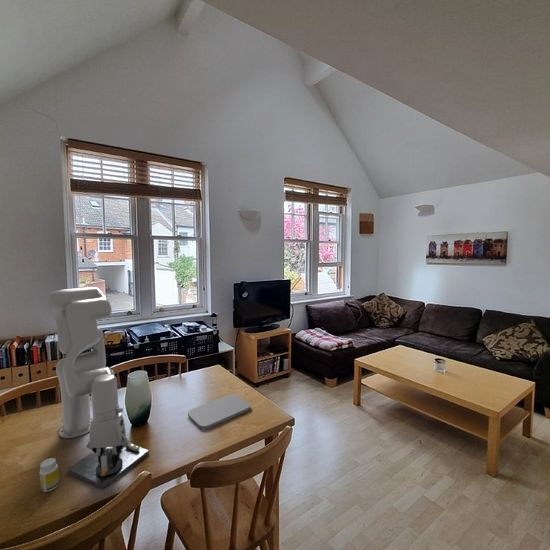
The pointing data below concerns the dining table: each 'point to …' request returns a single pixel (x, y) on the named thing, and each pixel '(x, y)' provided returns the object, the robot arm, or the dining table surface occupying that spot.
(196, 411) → the tablet
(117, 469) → the level dial
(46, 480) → the supplement bottle
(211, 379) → the dining table surface
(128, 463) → the base plate
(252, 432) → the dining table surface
